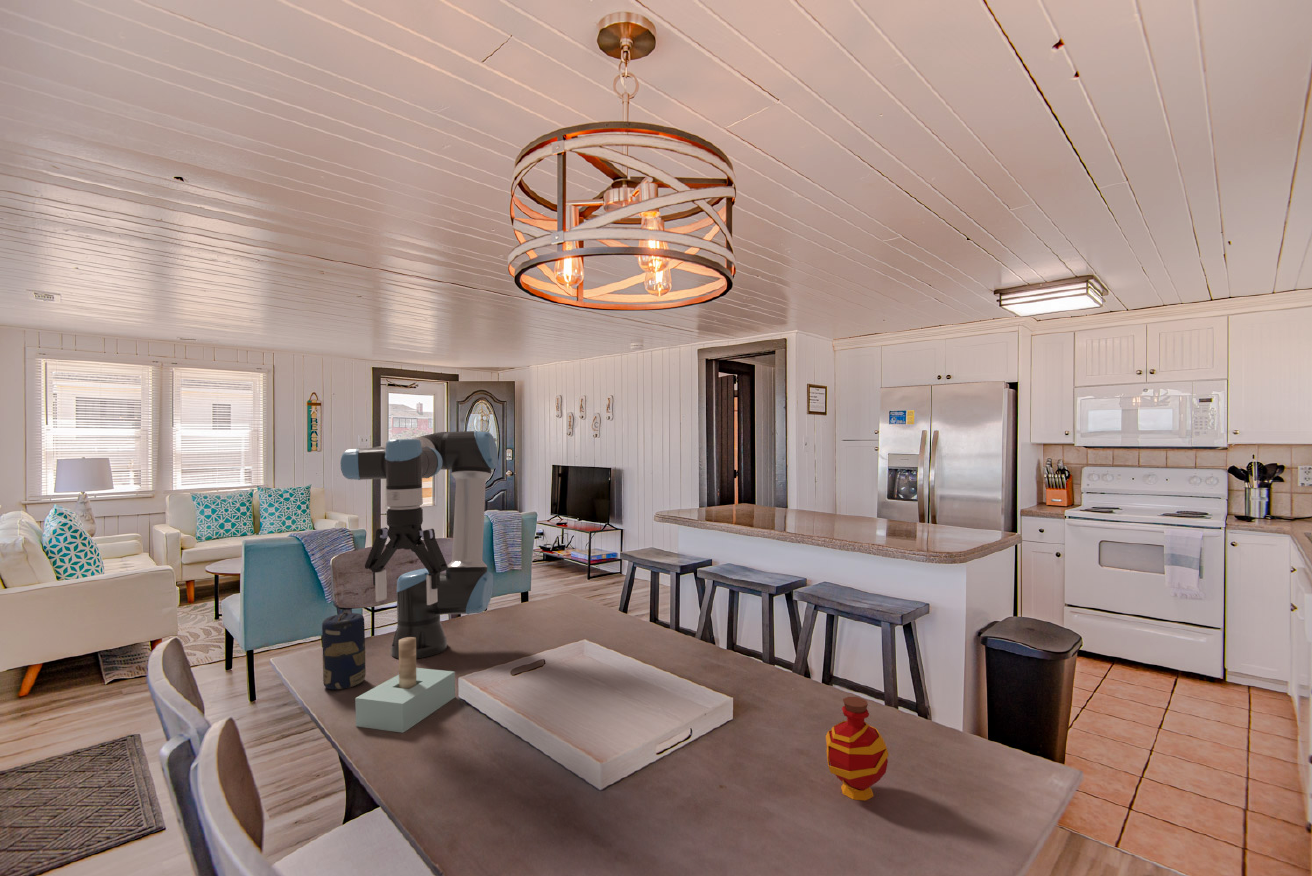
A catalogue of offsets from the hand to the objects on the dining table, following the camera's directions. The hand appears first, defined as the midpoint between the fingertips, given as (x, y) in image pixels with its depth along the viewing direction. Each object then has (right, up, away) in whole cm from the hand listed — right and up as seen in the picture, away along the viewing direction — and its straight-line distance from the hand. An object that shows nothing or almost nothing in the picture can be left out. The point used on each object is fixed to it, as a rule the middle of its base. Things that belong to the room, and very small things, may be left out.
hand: (406, 601), depth 136 cm
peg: (+1, -24, 0) cm, 24 cm away
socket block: (+1, -24, 0) cm, 24 cm away
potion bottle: (+90, -23, -35) cm, 99 cm away
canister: (-22, -25, +16) cm, 37 cm away
